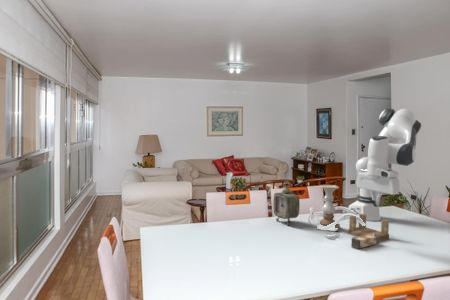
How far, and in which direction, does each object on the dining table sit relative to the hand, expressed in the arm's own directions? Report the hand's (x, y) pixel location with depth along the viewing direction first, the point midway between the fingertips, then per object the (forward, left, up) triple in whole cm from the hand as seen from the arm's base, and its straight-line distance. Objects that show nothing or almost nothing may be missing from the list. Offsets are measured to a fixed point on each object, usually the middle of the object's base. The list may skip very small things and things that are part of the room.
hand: (375, 200), depth 152 cm
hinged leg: (-3, -2, -22) cm, 22 cm away
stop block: (-6, -3, -22) cm, 23 cm away
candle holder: (-32, +5, -22) cm, 39 cm away
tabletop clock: (-52, -8, -22) cm, 57 cm away
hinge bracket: (-4, +5, -22) cm, 23 cm away
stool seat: (-12, +13, -22) cm, 28 cm away
